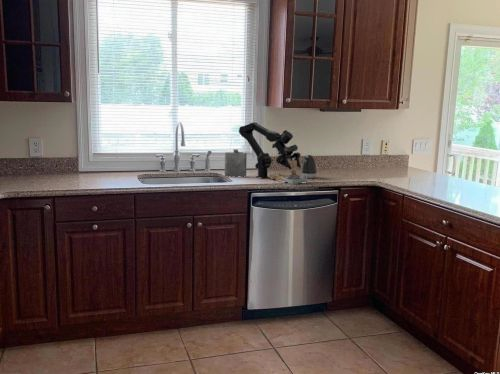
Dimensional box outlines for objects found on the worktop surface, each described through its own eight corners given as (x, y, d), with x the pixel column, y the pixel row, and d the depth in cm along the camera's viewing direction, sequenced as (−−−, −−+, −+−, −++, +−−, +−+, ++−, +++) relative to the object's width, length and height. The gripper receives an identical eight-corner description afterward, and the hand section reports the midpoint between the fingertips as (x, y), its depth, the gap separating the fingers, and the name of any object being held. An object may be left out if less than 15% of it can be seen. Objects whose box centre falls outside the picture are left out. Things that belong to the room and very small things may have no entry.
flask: (225, 175, 335) (225, 148, 331) (246, 176, 334) (246, 149, 330) (224, 176, 331) (224, 149, 328) (246, 177, 330) (246, 149, 327)
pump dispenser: (297, 177, 331) (298, 154, 328) (307, 176, 338) (308, 153, 336) (309, 179, 324) (310, 156, 321) (319, 178, 331) (320, 155, 328)
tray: (281, 181, 314) (281, 177, 314) (295, 180, 320) (295, 176, 320) (292, 184, 305) (292, 180, 305) (306, 183, 311) (306, 178, 311)
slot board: (270, 178, 325) (270, 174, 324) (282, 177, 330) (282, 173, 330) (281, 181, 315) (281, 177, 314) (293, 180, 320) (294, 176, 320)
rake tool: (288, 181, 312) (288, 160, 310) (292, 180, 316) (293, 159, 314) (294, 182, 309) (295, 161, 307) (299, 181, 313) (300, 160, 310)
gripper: (280, 141, 304) (294, 161, 299) (298, 139, 318) (312, 158, 312) (269, 153, 311) (283, 172, 305) (288, 150, 324) (301, 169, 319)
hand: (295, 168), depth 310 cm, fingers open, 9 cm apart
